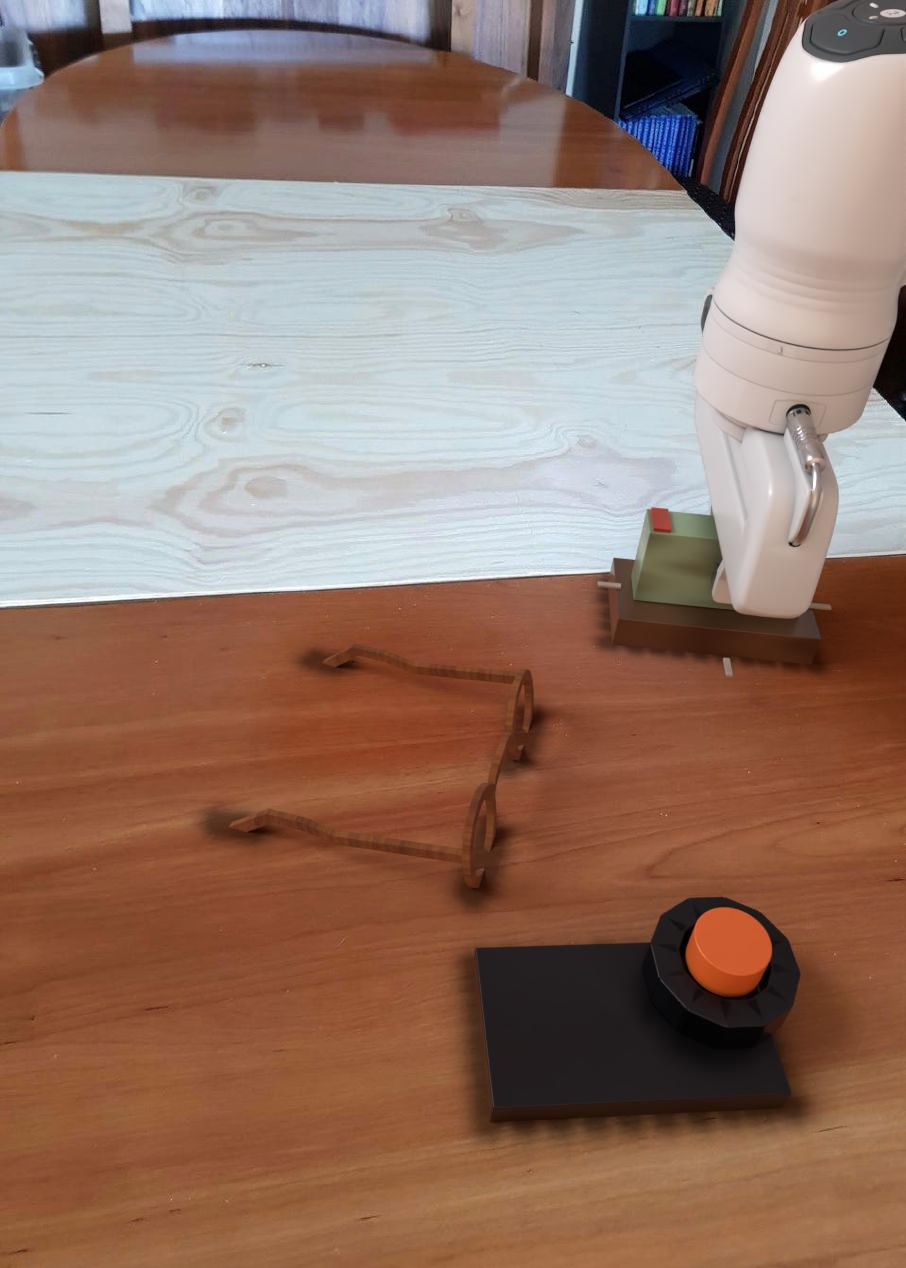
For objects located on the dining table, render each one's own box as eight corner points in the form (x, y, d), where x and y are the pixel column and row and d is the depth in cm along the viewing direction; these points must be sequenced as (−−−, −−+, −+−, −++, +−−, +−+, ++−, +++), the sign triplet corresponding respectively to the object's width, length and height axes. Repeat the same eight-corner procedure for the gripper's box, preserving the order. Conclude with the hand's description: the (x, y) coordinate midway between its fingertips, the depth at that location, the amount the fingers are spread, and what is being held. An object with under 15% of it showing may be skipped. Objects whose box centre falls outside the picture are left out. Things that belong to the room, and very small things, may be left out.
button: (748, 929, 46) (759, 905, 45) (770, 996, 44) (783, 973, 42) (676, 931, 46) (685, 907, 44) (695, 999, 43) (705, 976, 42)
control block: (749, 944, 50) (772, 894, 47) (806, 1117, 44) (836, 1070, 41) (468, 953, 48) (476, 902, 45) (487, 1133, 42) (497, 1086, 39)
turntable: (795, 575, 72) (809, 537, 70) (838, 726, 61) (856, 687, 59) (586, 554, 72) (594, 515, 70) (593, 702, 61) (602, 661, 59)
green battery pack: (792, 592, 65) (818, 522, 62) (799, 617, 63) (826, 546, 60) (630, 575, 65) (647, 504, 62) (633, 600, 63) (650, 529, 60)
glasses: (475, 912, 50) (485, 847, 46) (218, 838, 52) (210, 771, 48) (534, 721, 59) (547, 656, 56) (316, 666, 61) (315, 599, 58)
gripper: (897, 480, 46) (805, 703, 56) (810, 288, 62) (748, 488, 71) (754, 466, 46) (685, 691, 56) (702, 278, 62) (655, 478, 71)
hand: (720, 575), depth 63 cm, fingers closed on green battery pack, 2 cm apart
